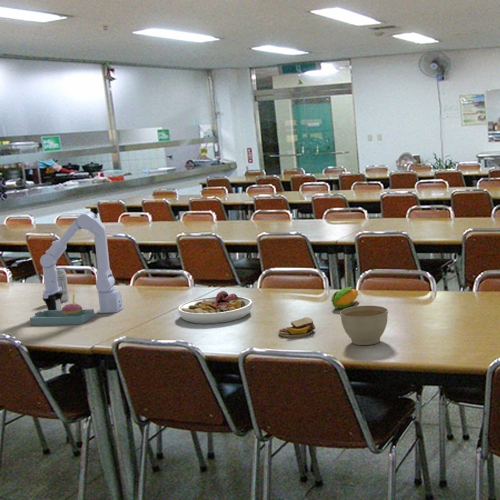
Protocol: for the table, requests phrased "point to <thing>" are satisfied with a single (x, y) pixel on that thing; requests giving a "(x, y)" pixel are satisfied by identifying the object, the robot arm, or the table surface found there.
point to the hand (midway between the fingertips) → (54, 310)
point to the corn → (344, 298)
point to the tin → (57, 304)
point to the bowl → (215, 309)
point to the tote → (60, 317)
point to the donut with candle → (72, 309)
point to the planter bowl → (364, 323)
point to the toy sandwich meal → (298, 328)
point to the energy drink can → (63, 284)
